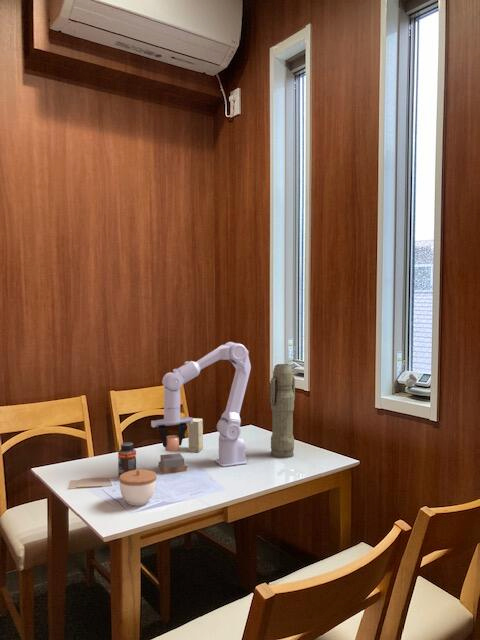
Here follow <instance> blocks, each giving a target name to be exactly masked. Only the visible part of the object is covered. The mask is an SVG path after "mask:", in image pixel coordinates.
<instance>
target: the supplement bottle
mask: <svg viewBox="0 0 480 640" xmlns="http://www.w3.org/2000/svg"><path fill="white" fill-rule="evenodd" d="M117 456H118V457H117V461H118V462H117V464H118V465H117V466H118V468H117V471H118V475H117V476H118V478H119V477H120V475H121V474H123V473H125V472H128V471H132V470H137V450H136V449H134V443H133V442H122V443H121V444H120V450H118V455H117Z"/></svg>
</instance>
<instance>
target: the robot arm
mask: <svg viewBox="0 0 480 640" xmlns="http://www.w3.org/2000/svg"><path fill="white" fill-rule="evenodd" d="M220 360H225V361H226V360H227V361H229V362H231V364H232V365H233V367H234V368H235V371H234V372H235V373H234V376H233V380H232V383H231V388H230V391H229V394H228V399H227V403H226V406H225V410H224V412H223V413H221V416H220V417H221V418H220V419H219V420H218V422H217V424H216V430H217V432H218V433H219V436H218V458H216V459H214V462H215V463H217V464H218V465H219V466H220V467H222V468H224V467H231V466H236V465H246V464H247V462H246V442H245V439H244V438H243V437H242V436H241V437H240V435H241V432H242V431H241V423H242V420H241V417H240V414H241V409H242V405H243V402H244V397H245V394H246V390H247V386H248V381H249V378H250V373H251V370H252V365H251V361H250V357H249V350H248V349H247V348H246V346H245V345H243V344H241V343H237V342H234V341H228V342H226V343H225V344H221V345H220V346H218V347H217V348H215V349H214V350H212V351H210V352H209V353H207V354H206V355H204V356H202V357H201V358H200V359H198V360H197V361H193V360H190V361H188V360H187V361H184V364H183V365H180V367H178V368H174V369H172V371H173V372H167V373H165V374H164V375H163V377H162V380H161V383H162V385H163V392H164V393H163V418H161V419H156V420H151V421H150V426H151V427H152V428H156V429H157V430H158V433H159V435H160V438H161V442H162V446H163V447H164V448H165V447H166V445H167V444H166V436H167V431H168V429H167V427H168V426H177V436H179V447H180V446H182V442H183V439H184V435H185V434H186V431H187V429H188V424H193V418H194V417H192V416H189V417H187V416H185V417H181V388H182V387H183V385H185V384H186V383H187V382H189V381H192V380H193V379H195V378H196V377H198V376H199V375H200V373H201V370H203V369H205V368H206V367H208V366H210V365H212V364H214V363H216V362H218V361H220ZM166 426H167V427H166Z"/></svg>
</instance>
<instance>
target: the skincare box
mask: <svg viewBox="0 0 480 640" xmlns="http://www.w3.org/2000/svg"><path fill="white" fill-rule="evenodd" d="M192 418H193V424H187V426H188V427H187V429H188V433H187V434H188V452H190V453H200V452H201V451H202V450H203V449H202V448H204V437H203V436H204V434H203V433H204V432H203V430H204V423H203V422H204V421H203V420H204V419H203V418H199V417H196V418H194V417H192Z"/></svg>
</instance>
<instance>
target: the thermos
mask: <svg viewBox="0 0 480 640" xmlns="http://www.w3.org/2000/svg"><path fill="white" fill-rule="evenodd" d="M292 368H293V367H292V366H291V365H290V364H289V363H277V364H276V365H274V367H273V371H272V377H271V379H270V381H269V382H270V384H269V387H270V389H269V395H270V396H269V399H270V401H269V402H270V405H271V406H270V407H271V411H272V412H271V413H272V414H271V415H272V416H271V417H272V418H271V419H272V421H271V422H272V423H271V424H272V425H271V426H272V431H271V433H272V434H271V437H270V449H271V451H270V452H271V453H270V455H271V457H273V458H278V459H289V458H292V457H294V450H295V437H294V434H293V433H294V432H293V431H294V429H293V427H294V425H293V424H294V423H293V422H294V419H293V418H294V416H293V414H294V410H295V401H296V379H295V377H294V375H293V373H294V372H293V369H292Z"/></svg>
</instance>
